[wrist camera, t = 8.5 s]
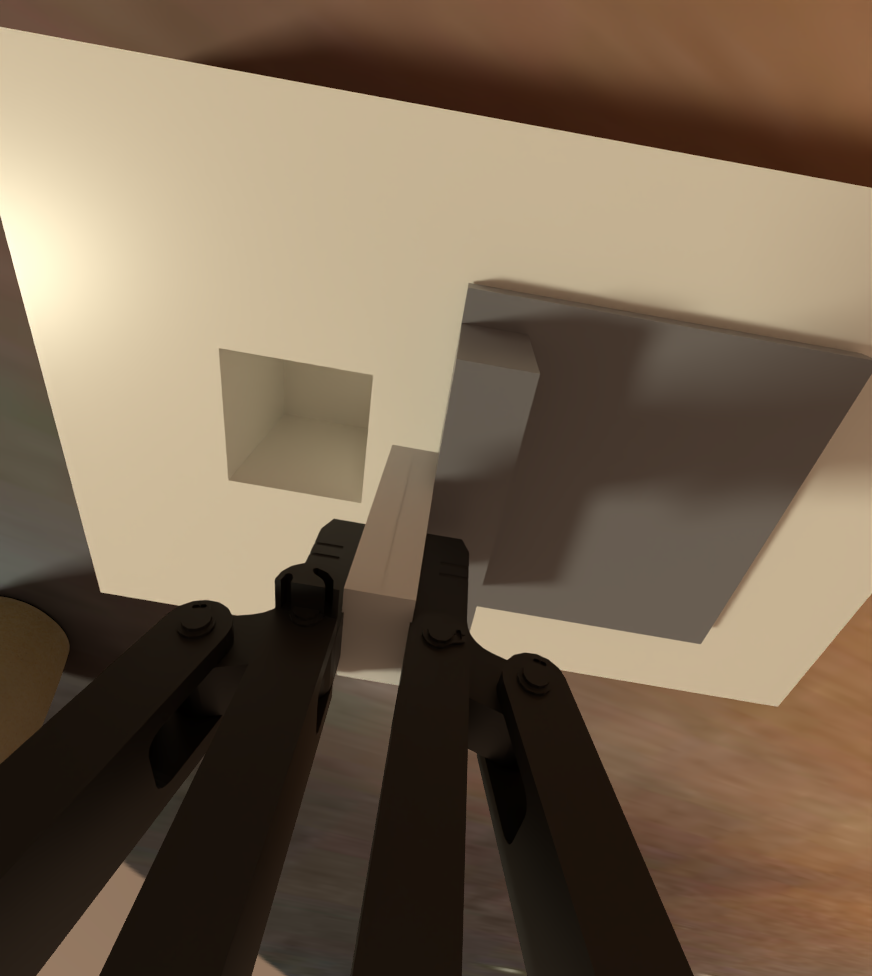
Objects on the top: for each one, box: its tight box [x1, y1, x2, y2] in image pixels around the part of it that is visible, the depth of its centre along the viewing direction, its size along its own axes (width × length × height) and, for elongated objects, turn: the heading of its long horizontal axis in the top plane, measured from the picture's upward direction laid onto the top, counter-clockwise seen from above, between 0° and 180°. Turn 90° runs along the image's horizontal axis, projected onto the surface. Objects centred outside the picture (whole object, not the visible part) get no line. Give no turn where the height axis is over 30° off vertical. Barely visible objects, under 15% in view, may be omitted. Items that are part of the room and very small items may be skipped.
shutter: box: [427, 283, 872, 644], centre depth 16 cm, size 12×12×4 cm
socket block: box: [0, 27, 872, 707], centre depth 22 cm, size 32×20×8 cm, turn 81°
